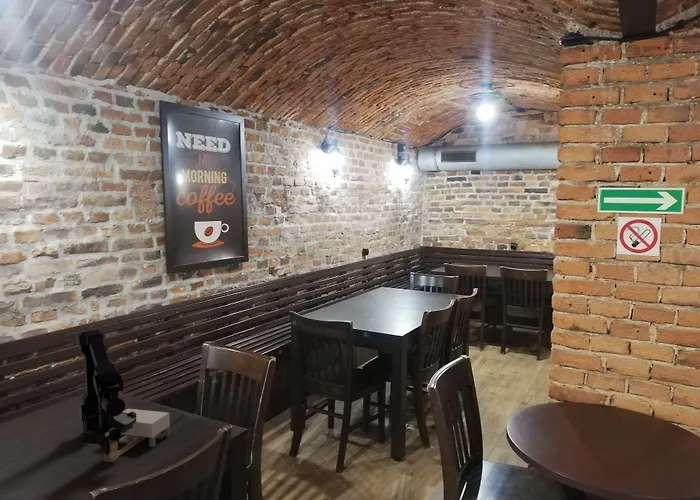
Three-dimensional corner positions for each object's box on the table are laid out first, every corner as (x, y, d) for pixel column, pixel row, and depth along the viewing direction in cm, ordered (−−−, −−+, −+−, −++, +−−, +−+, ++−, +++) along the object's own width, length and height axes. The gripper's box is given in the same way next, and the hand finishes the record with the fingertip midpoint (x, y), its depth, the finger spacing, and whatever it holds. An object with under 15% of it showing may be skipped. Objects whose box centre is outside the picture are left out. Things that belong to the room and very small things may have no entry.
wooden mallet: (88, 459, 170) (87, 441, 170) (131, 432, 190) (130, 417, 190) (111, 462, 167) (110, 444, 167) (152, 435, 188) (151, 419, 187)
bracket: (150, 416, 207) (149, 409, 207) (183, 418, 204) (183, 411, 204) (128, 431, 193) (128, 424, 193) (164, 433, 190) (163, 426, 190)
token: (117, 443, 183) (116, 440, 182) (129, 436, 188) (128, 433, 188) (130, 445, 181) (130, 442, 181) (142, 438, 186) (142, 435, 186)
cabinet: (110, 442, 183) (109, 419, 182) (129, 430, 192) (128, 408, 192) (153, 447, 178) (151, 423, 177) (170, 435, 187) (169, 412, 187)
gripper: (108, 420, 157) (110, 468, 158) (147, 398, 175) (149, 442, 176) (78, 417, 160) (81, 464, 161) (120, 396, 178) (122, 439, 179)
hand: (110, 452), depth 169 cm, fingers closed on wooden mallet, 3 cm apart
